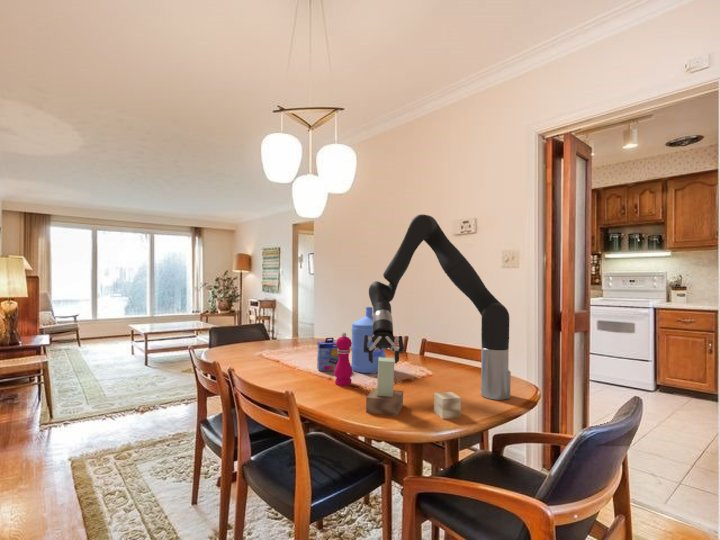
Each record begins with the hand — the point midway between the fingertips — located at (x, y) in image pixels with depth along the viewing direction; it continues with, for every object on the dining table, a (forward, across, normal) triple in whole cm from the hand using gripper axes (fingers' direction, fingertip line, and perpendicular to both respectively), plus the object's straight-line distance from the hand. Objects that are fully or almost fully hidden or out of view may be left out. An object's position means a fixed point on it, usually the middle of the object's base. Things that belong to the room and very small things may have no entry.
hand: (383, 362), depth 133 cm
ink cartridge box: (-19, -22, +37) cm, 47 cm away
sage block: (+12, 0, -1) cm, 12 cm away
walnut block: (+16, 0, +2) cm, 16 cm away
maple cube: (+19, +19, -1) cm, 27 cm away
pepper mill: (-3, -15, +21) cm, 26 cm away
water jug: (-19, -4, +38) cm, 42 cm away
